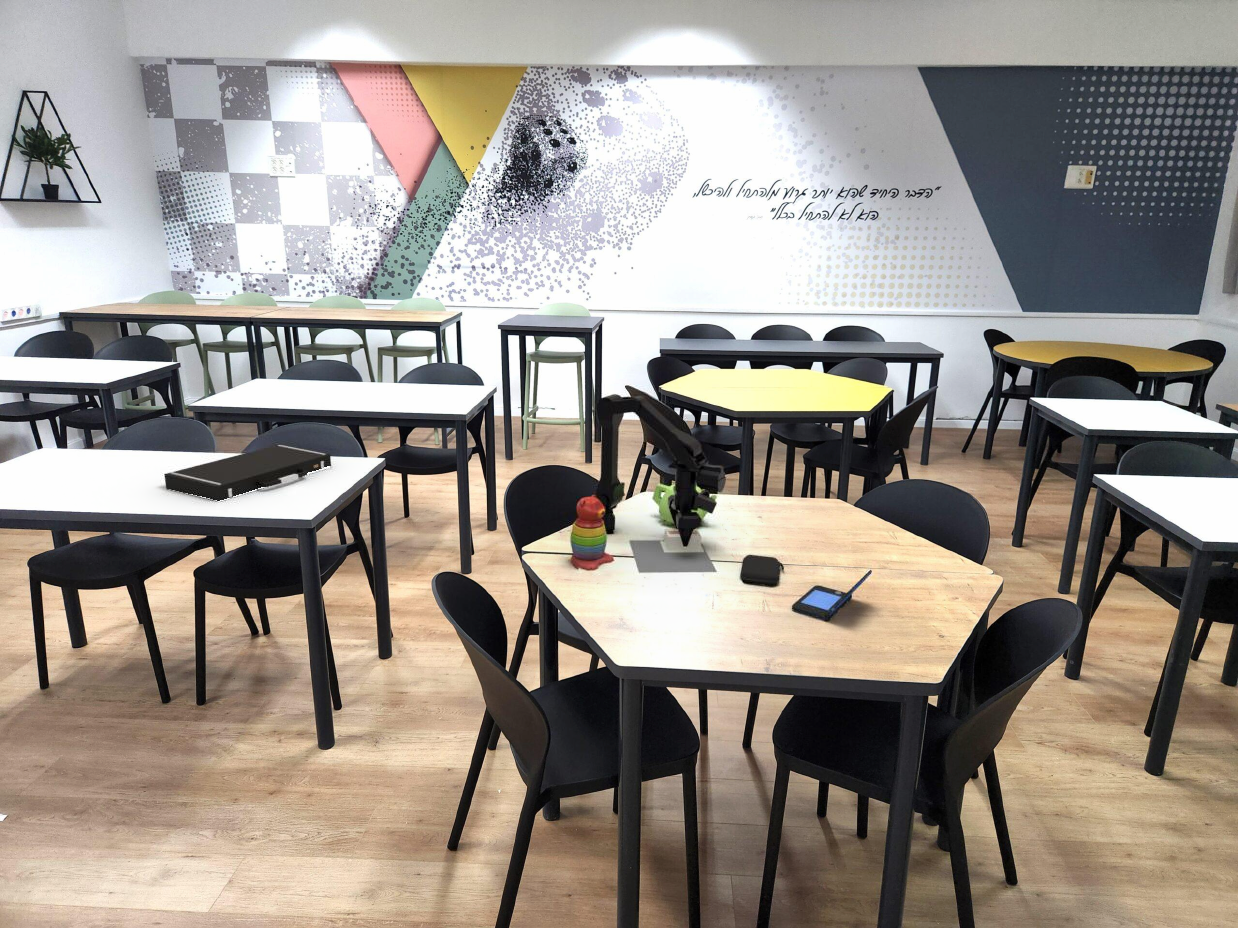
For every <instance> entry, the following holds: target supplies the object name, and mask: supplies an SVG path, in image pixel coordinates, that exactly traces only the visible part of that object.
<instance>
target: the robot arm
mask: <svg viewBox="0 0 1238 928" xmlns="http://www.w3.org/2000/svg"><path fill="white" fill-rule="evenodd" d="M595 412H596V418H597V421H598V423H599V426H600V428H601V434H600V436H601V441H600V442H601V443H600V446H601V447H600V448H601V449H600V478H599V480H598V483H597V485H596V488H595V492H594V495H596V497H597V499H599V500H600V501H601V503H602V504H603V506H604V508H605V513H604V516H603V517H602V518H601V519H602V520H603V521H604V525H605V530H606V534H607V535H614V534H615V533H614V531H615V530H616V516H615V515H616V514H614V509H616V508H617V506H618V504H620V503H621V502H622V500H623V498H624V497H625V496H626V495H625V487H626V485H625V484H626V483H625V481H624V482H623V481H620V479H619V476H618V473H619V472H618V468H619V467H618V466H619V435H620V434H619V432H620V431H619V429H620V425H621V423H622V421H623V418H624V414H627V413H634V414H635V415H636V416H637V417H638V418H639V419H640V420H642V422H644V424H645V425H647V426H648V427H649V428H650V430H652V431H653V432H654V433H656V435H658V437H659V438H661V440H663V442H665V444H666V446H667V449H668V451H669V453H670V454H672V456H673V457H674V460H673V461H672V462H671V463H670V464H668V465H667V466H668V467H667V468H669V469H673V470H675V478H674V479H675V480H674V481H675V482H674V484H675V486H673V490H674V495H671V496H669V497H668V506H669V507H668V508H669V511H670V514H671V516H672V519H673V522H674V523H673V525H674V527H675V528H674V529H678V531H679V534H680V538H681V541H682V544H683V546H684V547H687V546H688V543H689V540H690V538H691V535H692V532H693V530H695V529H699V528H700V527H702V524H703V523H702V521H703V519H701V517H700V515H699V514H698V513H697V512H692V510H693V511H698V508H699V509H702V510H704V511H707V512H708V513H707V514H713V513H714V511H715V508H716V506H717V501H716V500H714V499H713V498H712V497H711V495H710V492H709V491H711V492H717V493H722V492H723V490H724V488H725V485H726V482H727V481H726V480H727V476H726V472H725V471H724V466H723V465H713V464H709V463H710V462H709V460H708V459H707V456H706V455H705V453H704V452H703V450H702V445H701V443H700V441H699V440H698V439H696V438H695V437H694V436H692V435H691V434H688V433H687V432H686V431H685V432H684V431H682V430H680V429H679V428H677V427H676V426H675V425H673V423H672V422H670V421H669V419H667V418H666V417H665V416H664V415H663V414H662V413H661V412H660V411H658V409H656V407H654V406H653V404H651V403H650V402H649V401H648V399H647V398H646V397H645V396H642V395H638V396H621V395H619V394H616V393H613V394H610V395H606V396H604V397H601V398H599V399H598V400H597V401H596V404H595ZM695 460H696V461H695ZM696 486H697V487H699V488H700V489H701V490H702V492H700V493H698V492H697V490H696Z"/></svg>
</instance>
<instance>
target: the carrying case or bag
mask: <svg viewBox="0 0 1238 928" xmlns="http://www.w3.org/2000/svg"><path fill="white" fill-rule="evenodd" d="M781 570H782V571H784V570H785V565H783V563H782V562H781V561H779V559H778V558H777V557H773V556H766V555H765V556H764V555H756V554H747V555H745V557H743V559H742V563H741V568H740V574H739V578H740V580H741V581H742V582H743V583H745V584H749V585H757V586H758V585H759V586H768V587H774V586H776V585H777V584H779V583H780V575H781Z"/></svg>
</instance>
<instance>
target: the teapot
mask: <svg viewBox="0 0 1238 928" xmlns="http://www.w3.org/2000/svg"><path fill="white" fill-rule="evenodd" d="M673 486H675V483H674V484H672V485H670V486H669V485H665V484H662V483H657V484H656V486H655V488H654V490H653V496H652V497H651V498H652V500H653V501H654V503H655V504H656V505H657V507H658V513H659V516H660V517H661V519H662V520H664V521H665V522H664V525H667V526H673V525H674V522H673V519H672V516H671V514H670V511H669V508H668V507H669V506H668V497H669V496H671V495H674V490H673ZM696 490H697V492H698V493H700V492H702V491H703V489H700V488H699V487H698V486H697V485H696ZM662 491H663V492H664V494H663V495H662V493H663V492H662ZM710 497H712V498H713V499H714V500H715V501H716V500H717V498H718V495H716V494H711V495H710ZM692 512H697V513H698V514H699V515H700V517H701V519H702V520H703V519H704V518H705V517H706V515H707V514H709V513H708V512H707V511H704V510H702V509H699V508H698V511H693V510H692Z"/></svg>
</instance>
